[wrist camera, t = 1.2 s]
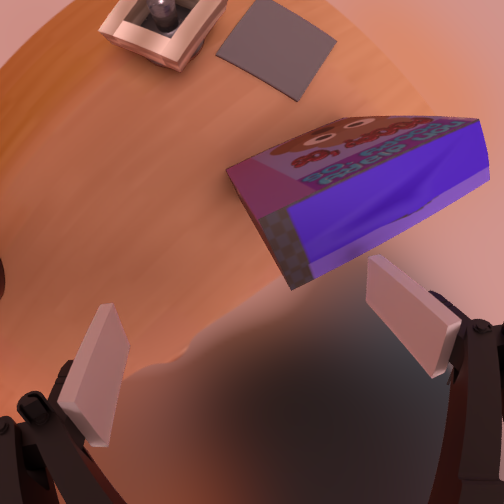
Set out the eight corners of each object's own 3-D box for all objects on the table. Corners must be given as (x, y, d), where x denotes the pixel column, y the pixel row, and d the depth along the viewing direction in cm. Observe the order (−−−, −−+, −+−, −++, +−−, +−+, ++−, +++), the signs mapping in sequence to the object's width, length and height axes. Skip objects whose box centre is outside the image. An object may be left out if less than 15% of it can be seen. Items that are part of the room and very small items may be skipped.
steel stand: (129, 53, 30) (98, 21, 18) (163, 5, 28) (149, -43, 16) (183, 77, 32) (173, 49, 21) (216, 28, 31) (223, -17, 19)
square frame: (112, 43, 24) (98, 30, 20) (156, -18, 22) (151, -38, 18) (180, 72, 27) (176, 62, 23) (225, 9, 25) (229, -9, 20)
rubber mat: (215, 55, 32) (215, 54, 31) (259, -4, 29) (260, -6, 29) (297, 101, 36) (298, 101, 35) (335, 42, 33) (337, 41, 32)
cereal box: (343, 117, 37) (480, 118, 15) (355, 149, 39) (491, 180, 17) (225, 169, 38) (258, 220, 16) (241, 202, 40) (292, 292, 18)
